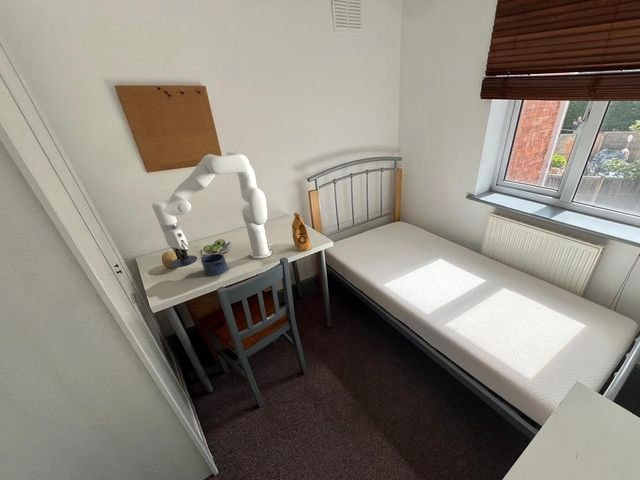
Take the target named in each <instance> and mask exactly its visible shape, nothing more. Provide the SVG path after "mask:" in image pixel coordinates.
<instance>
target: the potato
mask: <svg viewBox="0 0 640 480" xmlns="http://www.w3.org/2000/svg"><path fill="white" fill-rule="evenodd" d="M175 253H176V252H174V251H165V252H164V253H163V254H162V256H161V263H162V265H163V266H164V267H167V268H171V269H174V268H175V269H176V268H177V267H173V266H172V265H171V262H172V261H173V260H175V259H177V256H176V254H175Z"/></svg>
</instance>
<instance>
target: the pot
mask: <svg viewBox="0 0 640 480" xmlns="http://www.w3.org/2000/svg"><path fill="white" fill-rule="evenodd" d="M200 263H201V265H202V268H203V272H204V274H205V276H208V277H216V276H220V275H223V274H225V273H226V272H228V265H227V262H226V259H225V255H224V254H211V255H208V256H206V255H203V256H201V257H200Z"/></svg>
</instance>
